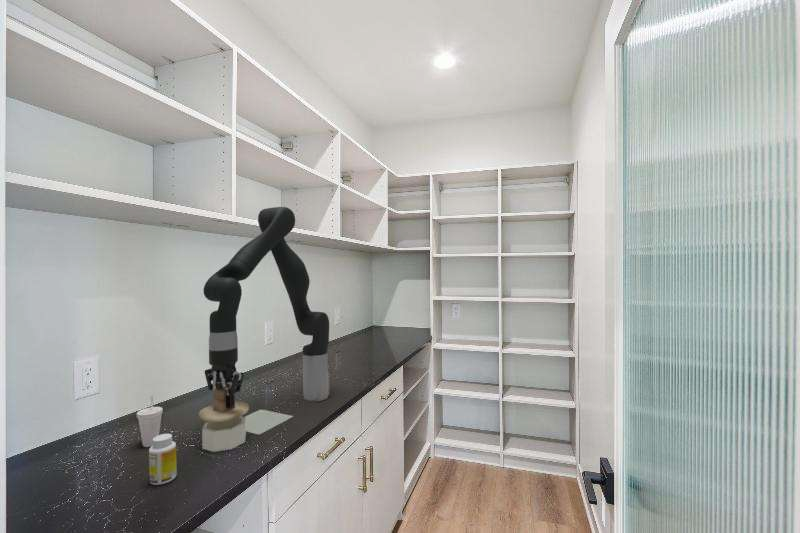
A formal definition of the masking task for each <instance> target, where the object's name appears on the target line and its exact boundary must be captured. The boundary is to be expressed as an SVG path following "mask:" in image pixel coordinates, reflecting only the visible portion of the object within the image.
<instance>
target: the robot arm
mask: <svg viewBox="0 0 800 533" xmlns="http://www.w3.org/2000/svg"><path fill="white" fill-rule="evenodd" d="M257 222H258V226H259V228H260V229H259V230H260V231H261V233H259V235H257V237H255V238H253V239H252V240H250V241H249V242H247V243H246V244H245V245H243V246H242V247H241V248H240V249H239V250H238V251H237V252H236V253H235V254H234V255H233V257H232V258H231V259H230V260H229V262H228V263H227V264H225V265H224V266H223V267H221V268H220V269H218V270H217V271H216V272H214V274H212V275H211V276H210V277H209V278H208V279H207V281H206V282H205V284H204V285H203V295H204V297H205V298H206V300H208V301H211V302H213V303H215V302H216V303H219V304H218V308H217V310H214V311H212V312H211V313H210V314H209V336H208V364H209V366H211V368H208V369H205V370H204V376H205V380H206V383H207V384H206V385H207V388H208V390H209V391H212V392H213V390H214V389H217V388H220V387H223V388H225V392H226V408H228V409H229V408H231V407H233V406H234V404H235V402H234V401H236V399H235V400H234V395H235V396H236V394H237V393H240V392H241V389H242V384H243V380H244V377H245V374H244V371H243V372H239V371H237V367H236V363H237V362H238V360H239V356H238V355H239V350H238V348H239V347H238V345H239V343H238V339H239V338H238V333H237V315H238V311H239V307H240V303H241V299H242V294H243V293H242V292H243V291H242V285H241V283H240V282H241V281H244V280H246V279H248V278H249V277H250V276H251V274H252V273H253V272H254V270H255V269H256V267H258V265H259V264H260V262H261V261H262V260H263V259H264V258H265V256H266V255H267V254H269V252H270V251H271V254H272V256H273V258H274V261H275V264H276V266H277V268H278V272H279V274H280V278H281V280H282V282H283V285H284V287H285V290H286V292H287V295H288V298H289V301H290V304H291V307H292V310H293V314H294V319H295V322H296V326H297V328H298V330H299V332H300V333H301V334H302V335H304V336H312V340H311V343H309V344H306V345H304V346H303V347H302V377H303V378H302V379H303V380H302V382H303V383H302V384H303V386H302V387H303V389H302V390H303V392H302V393H303V400H305V401H310V402H321V401H324V400H327V399H328V397H329V396H330V371H329V370H328V347H329V342H330V319H329V316H328V314H327V313H326V312H323V311H311V309H310V307H309V303H308V299H307V298H308V291H309V288H310V282H311V281H310V280H311V279H310V276H309V272H308V270H307V268H306V265H305V263H304V261H303V260H302V259H301V258H300V256H299V255H298V254H297V253H296V252H295V251H294V250H293V249H292V248H291V247H290V246H289V245H288V243H287V241H286V239H285V237H286V236H288V235H289V233H291V231H293V229H294V227H295V224H296V216H295V213H294V212H293V210H292V209H291V208H289V207H287V206H286V207H285V206H276V207H268V208H263V209H261V210H260V211H259V213H258V216H257ZM229 386H230V387H231V390H229Z"/></svg>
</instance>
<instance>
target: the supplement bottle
mask: <svg viewBox="0 0 800 533" xmlns="http://www.w3.org/2000/svg"><path fill="white" fill-rule="evenodd" d="M177 461H178V460H177V444H176V442H175V441H174V440H173V434H172V433H161V434H159V435H158V436H156V437H154V438H153V446H150V448H149V449H148V465H149V466H148V467H149V468H148V471H149V472H148V473H149V483H150V484H151V485H153V486H159V485H161V486H162V485H164V484H167V483H169V482H172V481H173V480H174V479H175V478H176V477H177V475H178V469H177V466H178V465H177Z"/></svg>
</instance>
